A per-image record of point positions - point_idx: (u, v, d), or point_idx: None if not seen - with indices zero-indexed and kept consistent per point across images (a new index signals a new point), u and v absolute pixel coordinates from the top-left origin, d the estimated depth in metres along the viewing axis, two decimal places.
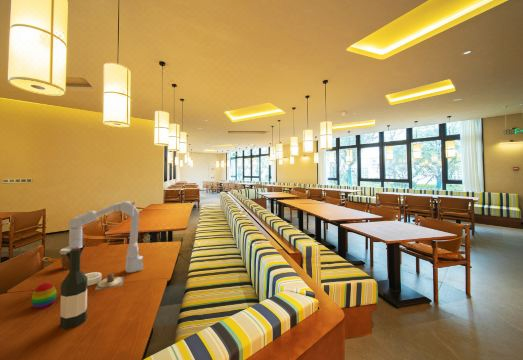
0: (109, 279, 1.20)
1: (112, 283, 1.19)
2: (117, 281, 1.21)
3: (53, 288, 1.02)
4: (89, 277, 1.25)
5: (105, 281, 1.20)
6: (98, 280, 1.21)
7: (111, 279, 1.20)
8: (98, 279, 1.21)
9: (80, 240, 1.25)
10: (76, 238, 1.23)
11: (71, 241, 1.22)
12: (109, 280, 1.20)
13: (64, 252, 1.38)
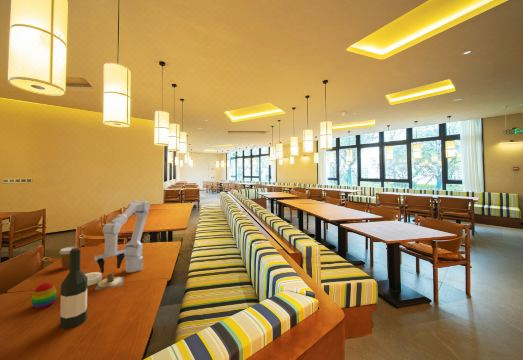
0: (109, 279, 1.20)
1: (112, 283, 1.19)
2: (117, 281, 1.21)
3: (53, 288, 1.02)
4: (89, 277, 1.25)
5: (105, 281, 1.20)
6: (98, 280, 1.21)
7: (111, 279, 1.20)
8: (98, 279, 1.21)
9: (109, 248, 1.18)
10: (116, 244, 1.21)
11: None
12: (109, 280, 1.20)
13: (64, 252, 1.38)
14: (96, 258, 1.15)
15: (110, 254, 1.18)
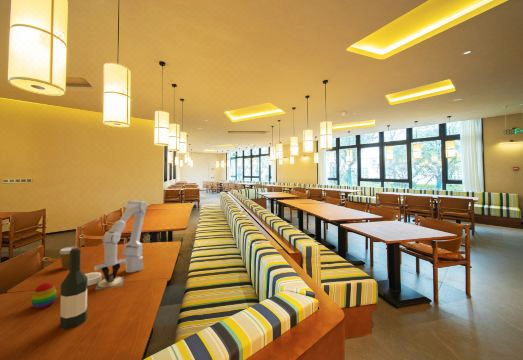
0: (109, 279, 1.20)
1: (112, 283, 1.19)
2: (117, 281, 1.21)
3: (53, 288, 1.02)
4: (89, 277, 1.25)
5: (105, 281, 1.20)
6: (98, 280, 1.21)
7: (111, 279, 1.20)
8: (98, 279, 1.21)
9: (109, 258, 1.18)
10: (116, 253, 1.21)
11: None
12: (109, 280, 1.20)
13: (64, 252, 1.38)
14: (96, 268, 1.15)
15: (110, 263, 1.19)
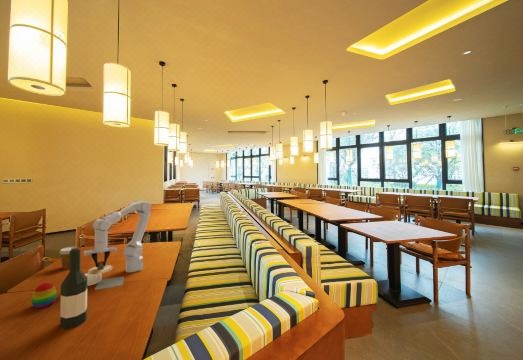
0: (98, 266, 1.20)
1: (100, 271, 1.18)
2: (106, 269, 1.20)
3: (53, 288, 1.02)
4: (89, 277, 1.25)
5: (96, 268, 1.21)
6: (98, 280, 1.21)
7: (100, 267, 1.20)
8: (98, 279, 1.21)
9: (97, 244, 1.18)
10: (105, 240, 1.21)
11: None
12: (98, 267, 1.20)
13: (64, 252, 1.38)
14: (84, 253, 1.16)
15: (98, 250, 1.18)
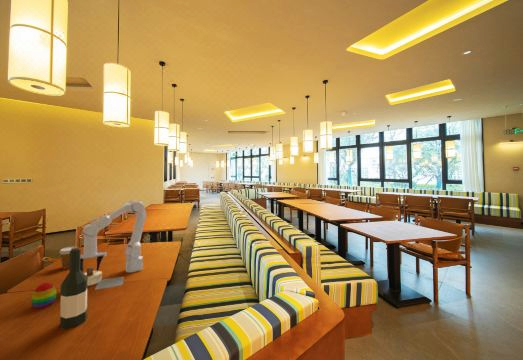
0: (87, 273, 1.20)
1: (88, 277, 1.18)
2: (94, 276, 1.20)
3: (53, 288, 1.02)
4: None
5: (85, 274, 1.21)
6: (98, 280, 1.21)
7: (89, 273, 1.20)
8: (98, 279, 1.21)
9: (86, 250, 1.19)
10: (93, 246, 1.20)
11: None
12: (87, 274, 1.20)
13: (64, 252, 1.38)
14: None
15: (86, 255, 1.19)
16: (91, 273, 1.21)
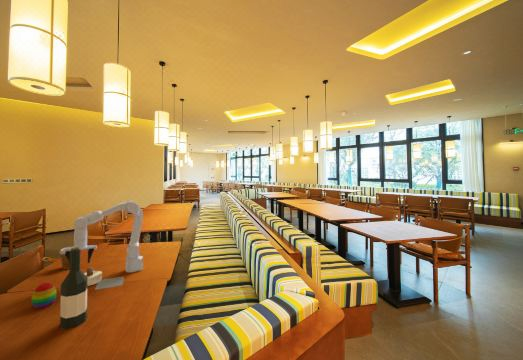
0: (87, 273, 1.20)
1: (88, 277, 1.18)
2: (94, 276, 1.20)
3: (53, 288, 1.02)
4: None
5: (85, 274, 1.21)
6: (98, 280, 1.21)
7: (89, 273, 1.20)
8: (98, 279, 1.21)
9: (76, 242, 1.20)
10: (82, 239, 1.21)
11: None
12: (87, 274, 1.20)
13: None
14: (63, 250, 1.19)
15: None
16: (91, 273, 1.21)
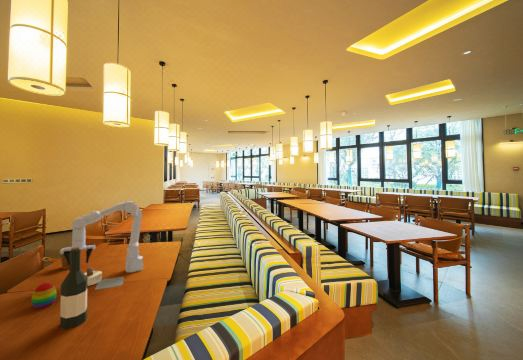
0: (87, 273, 1.20)
1: (88, 277, 1.18)
2: (94, 276, 1.20)
3: (53, 288, 1.02)
4: None
5: (85, 274, 1.21)
6: (98, 280, 1.21)
7: (89, 273, 1.20)
8: (98, 279, 1.21)
9: (74, 242, 1.20)
10: (80, 239, 1.21)
11: None
12: (87, 274, 1.20)
13: None
14: (62, 250, 1.19)
15: None
16: (91, 273, 1.21)
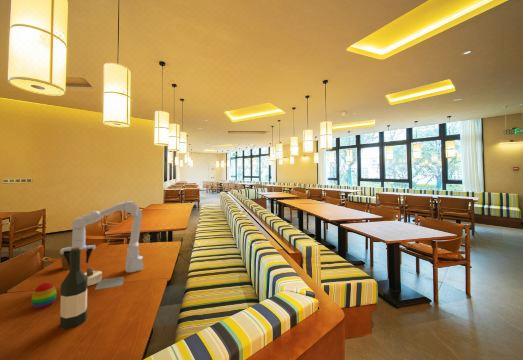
0: (87, 273, 1.20)
1: (88, 277, 1.18)
2: (94, 276, 1.20)
3: (53, 288, 1.02)
4: None
5: (85, 274, 1.21)
6: (98, 280, 1.21)
7: (89, 273, 1.20)
8: (98, 279, 1.21)
9: (74, 242, 1.20)
10: (80, 239, 1.21)
11: None
12: (87, 274, 1.20)
13: None
14: (62, 250, 1.19)
15: None
16: (91, 273, 1.21)
